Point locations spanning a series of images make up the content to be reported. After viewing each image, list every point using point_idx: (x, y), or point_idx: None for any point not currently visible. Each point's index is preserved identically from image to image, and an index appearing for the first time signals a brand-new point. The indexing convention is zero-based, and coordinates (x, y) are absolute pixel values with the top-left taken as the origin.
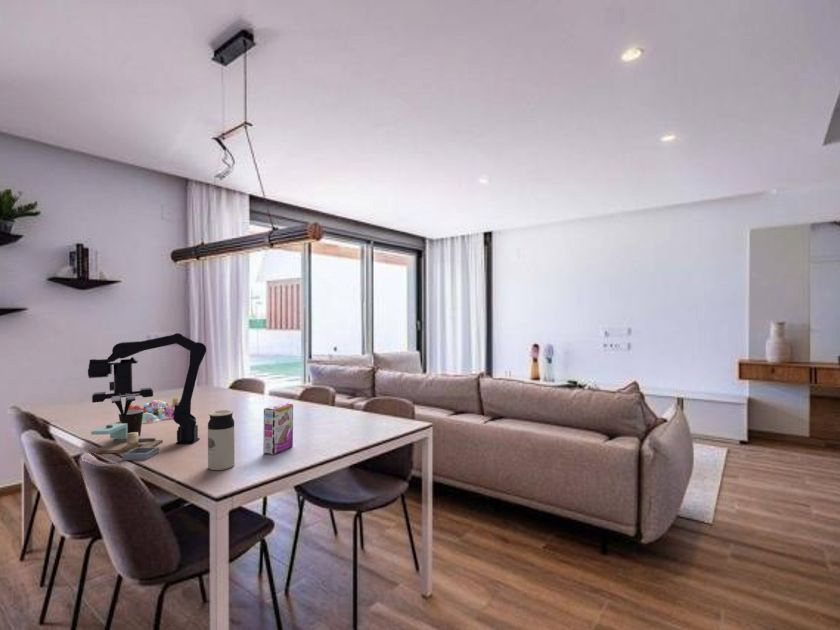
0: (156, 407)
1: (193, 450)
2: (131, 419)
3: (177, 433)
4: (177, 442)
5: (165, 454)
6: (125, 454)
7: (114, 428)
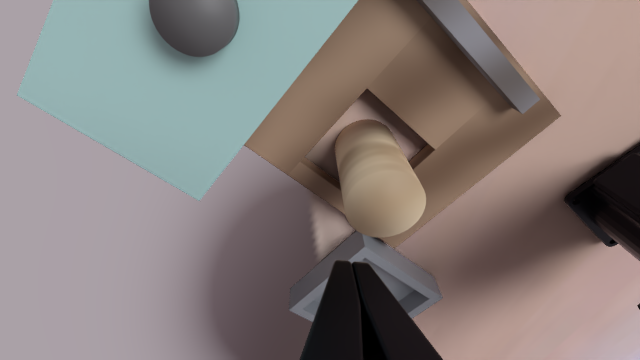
0: None
1: (533, 319)
2: None
3: (634, 212)
4: (577, 198)
5: (439, 308)
6: (299, 315)
7: (256, 124)
